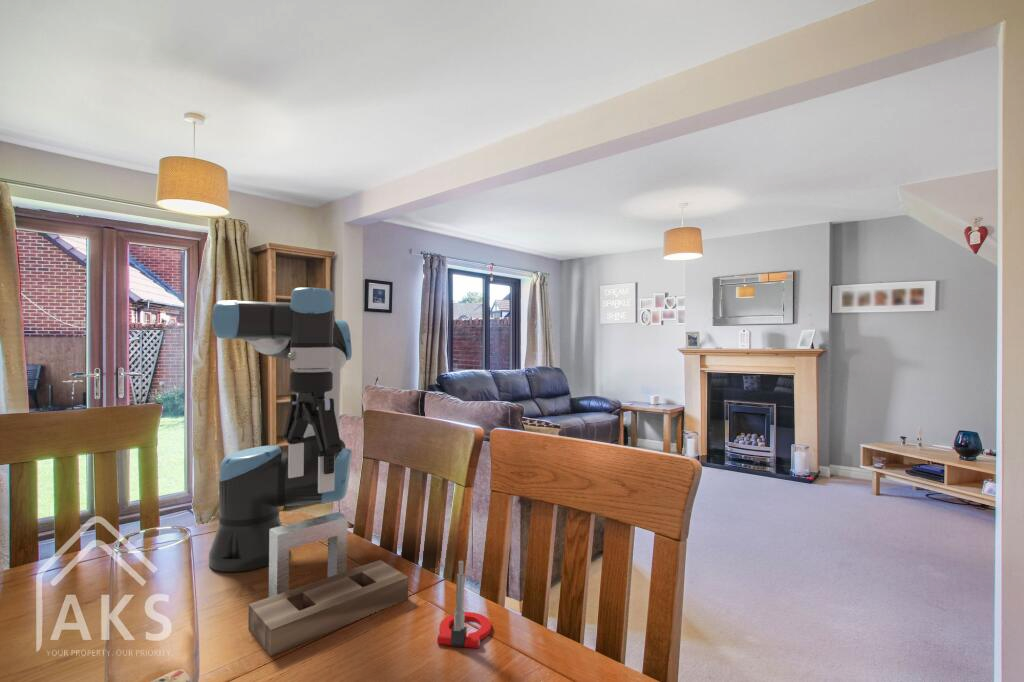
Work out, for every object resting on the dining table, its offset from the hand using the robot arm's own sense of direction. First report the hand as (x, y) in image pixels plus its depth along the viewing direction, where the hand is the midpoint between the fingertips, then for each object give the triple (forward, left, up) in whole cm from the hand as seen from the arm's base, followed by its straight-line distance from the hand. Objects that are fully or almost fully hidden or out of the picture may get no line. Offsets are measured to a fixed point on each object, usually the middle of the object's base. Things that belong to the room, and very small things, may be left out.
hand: (310, 483), depth 92 cm
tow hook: (+30, +13, -21) cm, 39 cm away
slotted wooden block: (+10, 0, -20) cm, 23 cm away
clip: (0, 0, -20) cm, 20 cm away
